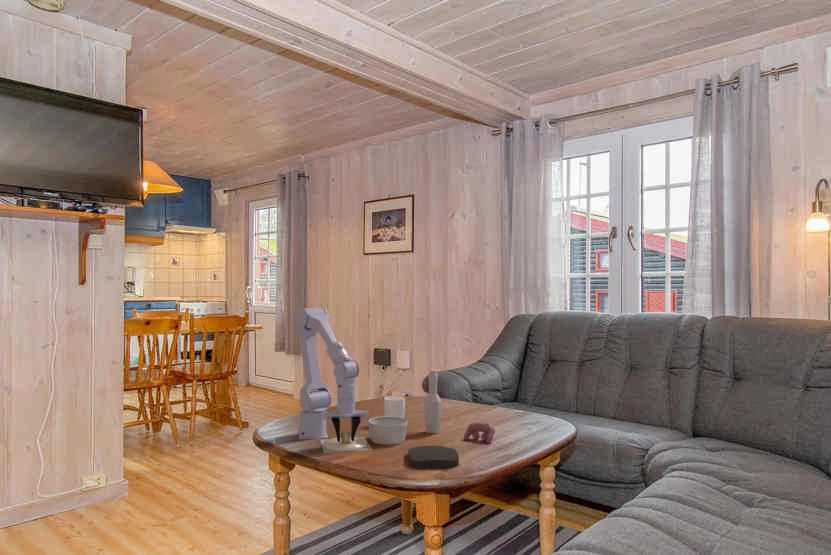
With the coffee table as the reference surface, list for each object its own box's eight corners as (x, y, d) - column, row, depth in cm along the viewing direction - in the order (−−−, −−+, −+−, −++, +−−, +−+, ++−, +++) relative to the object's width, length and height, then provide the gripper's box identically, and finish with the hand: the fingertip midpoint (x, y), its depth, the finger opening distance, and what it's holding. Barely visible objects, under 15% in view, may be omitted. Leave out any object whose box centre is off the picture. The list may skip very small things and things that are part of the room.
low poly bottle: (440, 435, 197) (440, 371, 197) (422, 433, 198) (422, 371, 199) (442, 430, 203) (443, 369, 204) (425, 429, 205) (426, 368, 205)
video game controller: (493, 446, 189) (497, 426, 192) (489, 443, 186) (493, 422, 188) (467, 442, 194) (471, 422, 197) (462, 439, 191) (466, 418, 193)
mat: (324, 454, 173) (324, 452, 173) (319, 440, 188) (319, 439, 188) (372, 451, 177) (372, 449, 177) (364, 438, 192) (364, 437, 192)
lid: (325, 452, 174) (325, 439, 174) (321, 440, 187) (321, 428, 187) (370, 449, 177) (370, 437, 177) (363, 438, 191) (363, 426, 191)
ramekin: (399, 448, 180) (399, 427, 180) (361, 444, 184) (361, 423, 185) (412, 438, 193) (413, 418, 193) (377, 434, 197) (377, 414, 197)
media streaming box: (409, 469, 161) (409, 459, 161) (407, 454, 175) (407, 444, 175) (460, 469, 162) (460, 458, 162) (453, 454, 176) (453, 444, 176)
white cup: (402, 428, 206) (402, 400, 206) (381, 426, 208) (381, 399, 208) (407, 423, 214) (407, 396, 214) (386, 421, 215) (387, 395, 215)
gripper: (324, 401, 177) (324, 445, 176) (370, 399, 180) (369, 442, 180) (322, 397, 183) (321, 439, 183) (366, 395, 187) (366, 436, 187)
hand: (345, 440), depth 182 cm, fingers open, 4 cm apart
